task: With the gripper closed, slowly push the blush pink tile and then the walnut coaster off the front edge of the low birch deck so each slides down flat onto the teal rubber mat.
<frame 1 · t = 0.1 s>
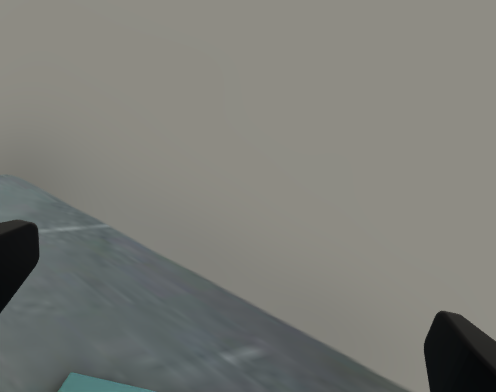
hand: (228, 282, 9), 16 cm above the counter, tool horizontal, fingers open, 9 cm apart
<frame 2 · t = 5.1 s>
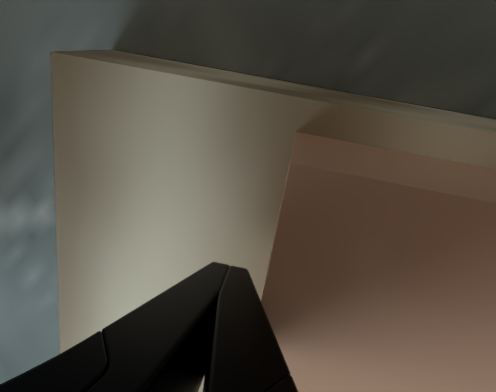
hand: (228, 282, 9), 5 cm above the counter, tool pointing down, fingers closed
blush pink tile: (396, 281, 10), point 3 cm above the counter, touching deck, gripper
deck: (257, 329, 15), on the counter
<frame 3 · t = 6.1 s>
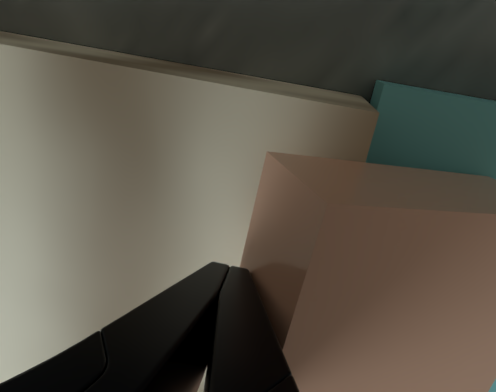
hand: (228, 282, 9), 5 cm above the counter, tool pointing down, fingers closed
blush pink tile: (350, 280, 10), point 3 cm above the counter, tilted 27°, touching gripper
mat: (439, 370, 14), on the counter
deck: (142, 304, 15), on the counter
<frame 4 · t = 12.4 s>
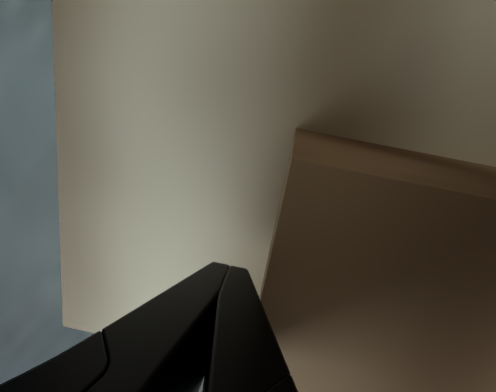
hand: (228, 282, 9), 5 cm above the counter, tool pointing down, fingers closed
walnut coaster: (395, 279, 10), point 3 cm above the counter, touching deck, gripper
deck: (320, 46, 11), on the counter
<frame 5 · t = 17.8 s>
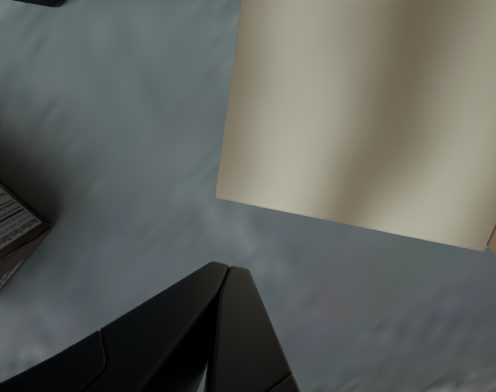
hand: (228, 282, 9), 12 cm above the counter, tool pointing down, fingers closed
deck: (392, 8, 17), on the counter
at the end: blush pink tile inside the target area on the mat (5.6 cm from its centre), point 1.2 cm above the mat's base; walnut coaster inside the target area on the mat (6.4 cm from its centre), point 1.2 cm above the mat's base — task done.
